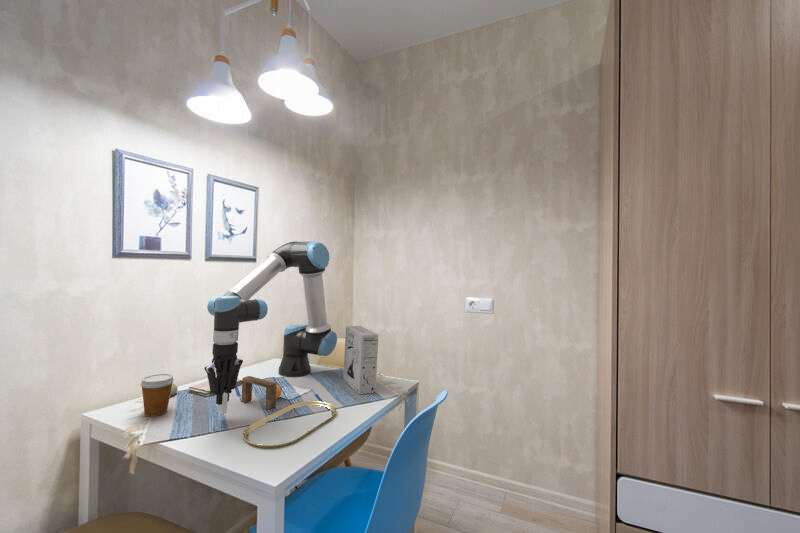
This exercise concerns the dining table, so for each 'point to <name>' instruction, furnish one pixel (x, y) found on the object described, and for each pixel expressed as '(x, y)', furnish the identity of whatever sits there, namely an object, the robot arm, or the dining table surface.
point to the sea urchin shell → (173, 389)
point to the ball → (278, 391)
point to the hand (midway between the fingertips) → (222, 412)
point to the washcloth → (205, 388)
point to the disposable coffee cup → (156, 393)
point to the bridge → (269, 385)
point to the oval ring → (260, 422)
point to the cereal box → (360, 359)
